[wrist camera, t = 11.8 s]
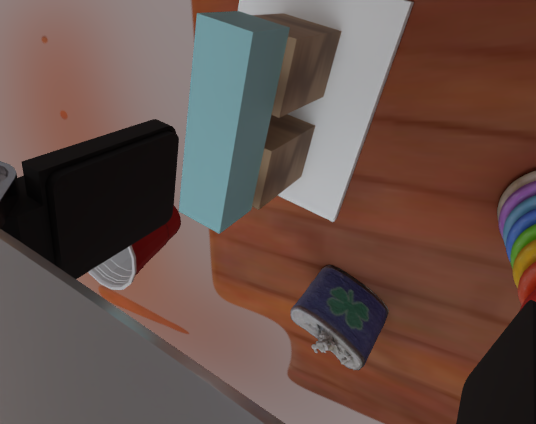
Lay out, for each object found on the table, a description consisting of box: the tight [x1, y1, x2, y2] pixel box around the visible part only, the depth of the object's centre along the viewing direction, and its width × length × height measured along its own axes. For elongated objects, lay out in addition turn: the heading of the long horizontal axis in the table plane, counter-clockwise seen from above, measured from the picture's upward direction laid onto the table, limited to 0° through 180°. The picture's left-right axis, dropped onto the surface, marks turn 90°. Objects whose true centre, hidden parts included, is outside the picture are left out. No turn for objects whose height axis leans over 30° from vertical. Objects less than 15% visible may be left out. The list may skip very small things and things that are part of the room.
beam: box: [179, 11, 290, 234], centre depth 32 cm, size 16×4×5 cm, turn 167°
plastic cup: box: [89, 205, 181, 290], centre depth 55 cm, size 11×11×12 cm
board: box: [238, 0, 414, 222], centre depth 42 cm, size 22×16×1 cm
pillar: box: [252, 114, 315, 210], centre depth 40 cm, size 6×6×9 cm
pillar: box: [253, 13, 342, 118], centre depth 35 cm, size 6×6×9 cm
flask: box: [291, 265, 389, 370], centre depth 44 cm, size 9×3×11 cm, turn 63°
